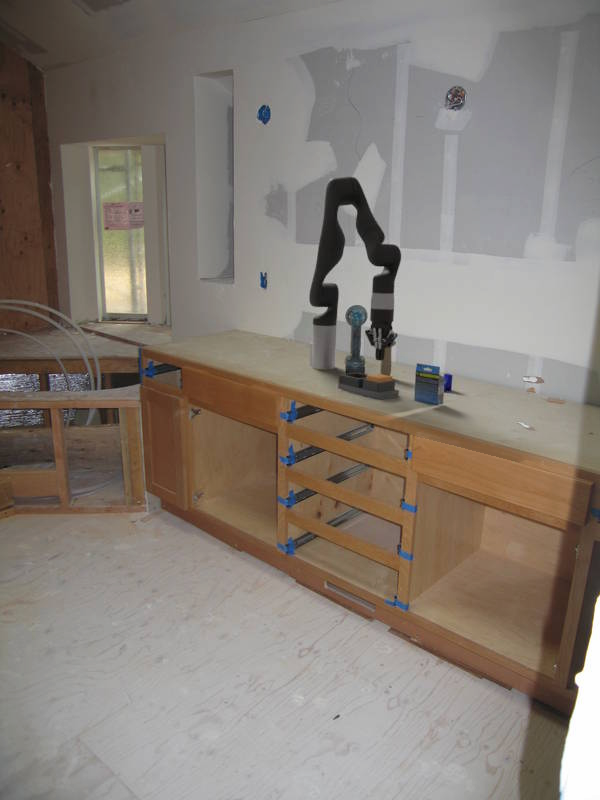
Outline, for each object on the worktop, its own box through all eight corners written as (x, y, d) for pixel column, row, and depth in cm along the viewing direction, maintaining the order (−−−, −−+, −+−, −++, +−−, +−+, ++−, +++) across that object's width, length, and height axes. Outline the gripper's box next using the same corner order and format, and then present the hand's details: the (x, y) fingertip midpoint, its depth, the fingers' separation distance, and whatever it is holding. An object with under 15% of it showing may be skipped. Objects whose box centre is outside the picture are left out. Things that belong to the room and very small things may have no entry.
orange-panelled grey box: (337, 388, 222) (338, 374, 221) (356, 385, 228) (357, 372, 227) (379, 399, 207) (380, 384, 206) (398, 396, 213) (399, 381, 212)
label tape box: (443, 403, 205) (446, 365, 202) (437, 405, 202) (440, 366, 199) (419, 398, 210) (422, 361, 207) (413, 400, 207) (415, 363, 204)
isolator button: (366, 381, 213) (366, 375, 213) (378, 379, 217) (378, 373, 216) (379, 384, 209) (379, 378, 208) (391, 382, 212) (392, 376, 212)
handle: (389, 382, 235) (391, 342, 231) (374, 380, 239) (376, 340, 235) (395, 380, 238) (398, 340, 235) (381, 378, 242) (383, 339, 239)
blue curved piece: (444, 389, 226) (445, 372, 225) (451, 392, 222) (452, 375, 221) (414, 390, 223) (415, 373, 222) (420, 393, 219) (421, 376, 217)
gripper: (359, 306, 210) (357, 358, 214) (389, 309, 200) (386, 363, 204) (375, 305, 215) (373, 356, 218) (405, 308, 205) (402, 361, 208)
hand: (379, 360), depth 211 cm, fingers closed
